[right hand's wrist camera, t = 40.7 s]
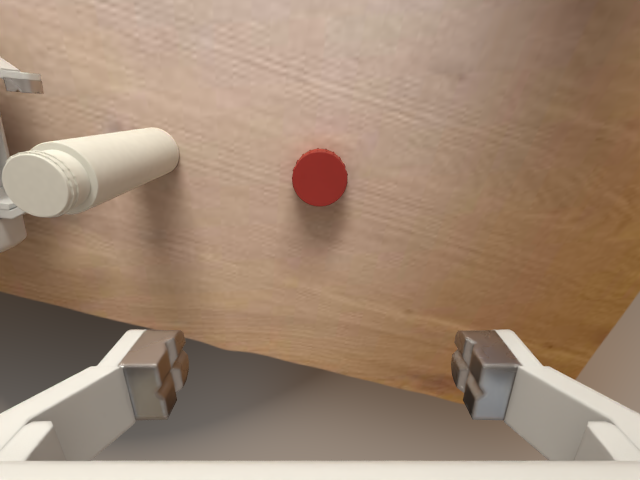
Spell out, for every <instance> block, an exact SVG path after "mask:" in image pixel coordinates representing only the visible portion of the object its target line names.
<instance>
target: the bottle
mask: <svg viewBox="0 0 640 480" xmlns="http://www.w3.org/2000/svg"><path fill="white" fill-rule="evenodd" d="M178 161H179V149H178V146H177V144H176V142H175V140H174V139H173V138H172V137H171V136H170V135H169V134H168V133H167V132H165V131H163V130H161V129H158V128H143V129H136V130H129V131H122V132H115V133H108V134H101V135H94V136H86V137H79V138H72V139H65V140H58V141H51V142H45V143H41V144H38V145H36V146H35V147H33V148H32V149H31V150H30V151H26V152H19V153H17V154H15V155H12V156H10V157H9V158H8V159H7V160H6V164H5V166H4V168H3V172H2V183H3V187H4V189H5V192H6V193H7V195H8V197H9V198H10V200H11V201H12V202H13V203H14V204H15V205H16V206H17V207H18V208H20V209H21V210H23V211H24V212H26V213H28V214H30V215H33V216H37V217H44V218H46V217H48V218H52V217H58V216H61V215H63V214H78V213H81V212H84V211H86V210H88V209H91V208H93V207H95V206H97V205H99V204H102V203H104V202H106V201H108V200H110V199H113V198H115V197H117V196H119V195H121V194H124V193H126V192H128V191H130V190H132V189H134V188H137V187H139V186H141V185H143V184H145V183H148V182H150V181H152V180H154V179H156V178H159V177H161V176H163V175H165V174H167V173H169V172H171V171H172V170H173V169H174V168H175V167H176V166H177V164H178Z"/></svg>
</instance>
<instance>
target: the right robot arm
mask: <svg viewBox="0 0 640 480" xmlns="http://www.w3.org/2000/svg"><path fill="white" fill-rule="evenodd" d="M454 343H455V344H456V346H457V348H458V350H457V351H456V352H455V353H454V354H453V355H452V361H451V369H452V376H453V379H454V382H455V384H456V386H457V388H458V389H460V390H461V391H462V392H464V397H463V401H464V403H465V405H466V407H467V409H468V411H469V413H470V415H471V417H472V419H475V420H504V422H505V423H506V424H507V425H508V426H509V427H511V428H512V429H513V430H514V431H515V432H516V433H518V434H519V435H520V436H521V437H522V438H523V439H525V440H526V441H527V442H528V443H529V444H530V445H531V446H533V447H534V448H535V449H536V450H537V451H538V452H540V453H541V454H542V455H543V456H544V457H545V458H547V459H548V460H549V461H91V460H92V459H93V458H95V457H96V456H97V455H98V454H99V453H100V452H102V451H103V450H104V449H105V448H106V447H107V446H109V445H110V444H111V443H112V442H113V441H114V440H116V439H117V438H118V437H119V436H120V435H121V434H123V433H124V432H125V431H126V430H127V429H128V428H129V427H131V426H132V425H133V424H134V423H135V422H136V420H164V419H168V417H169V415H170V413H171V411H172V409H173V407H174V405H175V403H176V401H177V398H176V392H178V391H179V390H180V389H182V388H183V386H184V384H185V382H186V380H187V375H188V370H189V360H188V355H187V354H186V353H185V352H184V351H183V350H182V348H183V346H184V344H185V337H184V333H183V332H182V331H181V330H129V331H127V332H126V333H125V334H124V335H123V336H122V337H121V339H120V340H119V341H118V342H117V343H116V344H115V346H114V347H113V348H112V349H111V350H110V352H109V353H108V354H107V355H106V356H105V357H104V358H103V360H102V361H101V362H100V363H99V364H98V365H97V366H91V367H89V368H87V369H85V370H83V371H82V372H80V373H78V374H76V375H74V376H72V377H70V378H68V379H66V380H64V381H62V382H60V383H58V384H56V385H54V386H53V387H51V388H49V389H47V390H45V391H43V392H41V393H39V394H37V395H35V396H33V397H31V398H30V399H28V400H26V401H24V402H22V403H20V404H18V405H16V406H14V407H12V408H10V409H8V410H7V411H5V412H3V413H1V414H0V480H640V414H639V413H637V412H635V411H633V410H631V409H629V408H628V407H626V406H624V405H622V404H620V403H618V402H616V401H614V400H612V399H610V398H608V397H606V396H605V395H603V394H601V393H599V392H597V391H595V390H593V389H591V388H589V387H587V386H585V385H583V384H582V383H580V382H578V381H576V380H574V379H572V378H570V377H568V376H566V375H564V374H562V373H560V372H559V371H557V370H555V369H553V368H551V367H549V366H543V365H542V364H541V363H540V362H539V361H538V360H537V358H536V357H535V356H534V355H533V354H532V353H531V351H530V350H529V349H528V348H527V347H526V346H525V345H524V343H523V342H522V341H521V340H520V339H519V338H518V336H517V335H516V334H515V333H514V332H513V331H511V330H509V329H507V330H486V331H458V332H457V334H456V336H455V342H454Z"/></svg>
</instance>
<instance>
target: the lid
mask: <svg viewBox="0 0 640 480" xmlns="http://www.w3.org/2000/svg"><path fill="white" fill-rule="evenodd" d="M347 175H348V174H347V172H346V170H345V165H344V164H343V162H342V161H341V158H340V157H338V156H337V155H336V154H335V153H334V152H331V151H329V150H327V149H319V148H317V149H314V150H309V151H308V152H307V153H305V154H303V155H302V157H301V158H300V159H299V160H297V162H296V166H295V167H294V169H293V177H292V182H293V187H294V189H295V192H296V193H297V195H298V196H299V197H300V198H301V199H302V200H303V201H304V202H306V203H308V204H310V205H313V206H326V205H330V204H332V203H334V202H335V201H337V200H338V199H339V198H340V197H341V196H342V194H343V193H344V191H345V189H346V186H347Z"/></svg>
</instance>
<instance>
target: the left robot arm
mask: <svg viewBox="0 0 640 480" xmlns="http://www.w3.org/2000/svg"><path fill="white" fill-rule="evenodd" d="M0 78H2V79H4V82H5V86H6V90H7V91H13V92H23V93H40V94H44V93H43V86H42V81H41V75H40V74H34V73H25V72H20V70H19V69H17V68H16V67H14V66H13V65H11V64H10V63H9V62H7V61H6V60H4V59H3V58H1V57H0ZM9 157H10V155H9V151H8V146H7V142H6V137H5V132H4V128H3V123H2V119H1V114H0V253H1V252H4V251H6V250H8V249H10V248H12V247H14V246H16V245H17V244H19V243H20V242H21V241H23V240H24V239H25V238H26V236H27V232H26V227H25V223H24V218H23V215H24V214H27V213H26V212H24V211H23V210H21V209H20V208H18V207H17V206H16V205H15V204H14V203H13V202H12V201H11V200H10V198H9V197H8V195H7V193H6V192H5V189H4V187H3V183H2V172H3V168H4V166H5V164H6V160H7V159H8V158H9Z"/></svg>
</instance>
